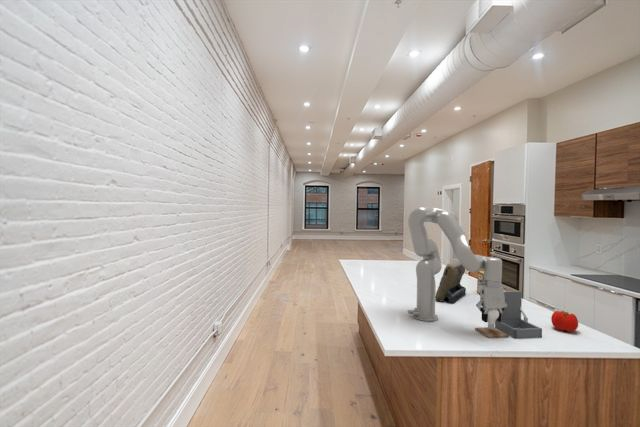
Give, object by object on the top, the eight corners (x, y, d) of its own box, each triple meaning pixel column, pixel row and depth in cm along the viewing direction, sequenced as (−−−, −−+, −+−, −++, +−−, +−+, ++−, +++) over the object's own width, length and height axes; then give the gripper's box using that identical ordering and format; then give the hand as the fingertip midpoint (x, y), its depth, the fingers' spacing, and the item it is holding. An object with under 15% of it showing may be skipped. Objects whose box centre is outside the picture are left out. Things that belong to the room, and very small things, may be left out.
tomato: (545, 325, 160) (546, 309, 160) (567, 326, 160) (568, 309, 160) (561, 334, 150) (561, 316, 149) (584, 334, 149) (585, 316, 149)
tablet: (446, 290, 227) (447, 256, 227) (467, 294, 219) (468, 258, 219) (434, 301, 200) (435, 262, 200) (457, 305, 192) (458, 264, 192)
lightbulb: (498, 333, 144) (499, 309, 144) (482, 330, 148) (483, 307, 148) (499, 328, 150) (499, 306, 150) (484, 325, 153) (484, 303, 153)
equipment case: (514, 338, 143) (515, 299, 143) (494, 327, 157) (495, 291, 157) (542, 337, 145) (543, 298, 145) (519, 326, 159) (520, 290, 159)
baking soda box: (477, 293, 222) (477, 270, 222) (486, 293, 222) (487, 270, 222) (483, 296, 213) (483, 273, 213) (492, 297, 212) (493, 273, 212)
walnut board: (488, 338, 143) (488, 336, 143) (474, 329, 153) (474, 327, 153) (508, 337, 145) (508, 335, 145) (493, 329, 154) (493, 327, 154)
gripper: (480, 285, 143) (479, 324, 144) (514, 285, 146) (513, 323, 146) (470, 282, 151) (469, 319, 151) (503, 281, 153) (501, 317, 154)
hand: (491, 320), depth 149 cm, fingers closed on lightbulb, 6 cm apart
